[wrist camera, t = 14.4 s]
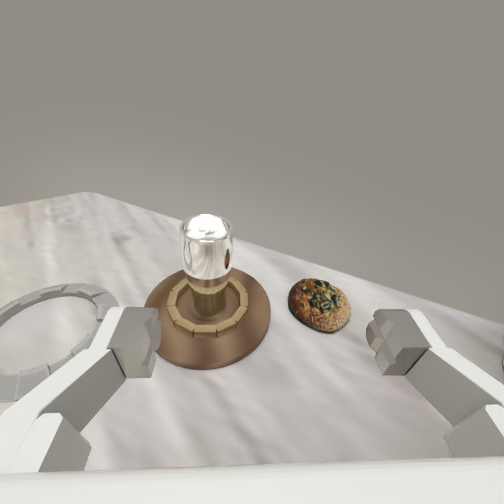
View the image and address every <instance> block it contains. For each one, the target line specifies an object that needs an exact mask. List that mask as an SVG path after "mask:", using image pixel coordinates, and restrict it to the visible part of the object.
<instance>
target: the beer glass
mask: <svg viewBox="0 0 504 504" xmlns="http://www.w3.org/2000/svg"><path fill="white" fill-rule="evenodd" d="M180 251H181V260H182V265H183V269H184V272H185V275H186V278H187V281H188V284H189V286H190V289H191V300H190V311H191V313H192V314H193V315H194V316H195V317H196V318H198V319H200V320H203V321H212V320H216V319H219V318H220V317H222V316H223V315H224V314H225V313H226V311H227V309H228V299H227V295H226V287H227V283H228V279H229V275H230V271H231V267H232V261H233V236H232V225H231V223H230V222H229V221H228V220H227V219H226V218H224V217H221V216H218V215H213V214H200V215H195V216H191V217H189V218H187V219H186V220H184V221H183V222H182V223H181V225H180Z"/></svg>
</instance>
